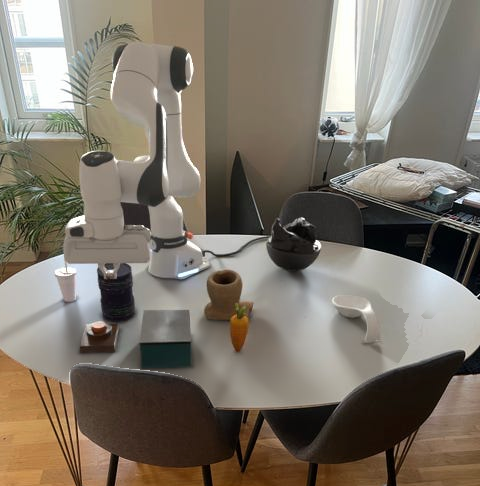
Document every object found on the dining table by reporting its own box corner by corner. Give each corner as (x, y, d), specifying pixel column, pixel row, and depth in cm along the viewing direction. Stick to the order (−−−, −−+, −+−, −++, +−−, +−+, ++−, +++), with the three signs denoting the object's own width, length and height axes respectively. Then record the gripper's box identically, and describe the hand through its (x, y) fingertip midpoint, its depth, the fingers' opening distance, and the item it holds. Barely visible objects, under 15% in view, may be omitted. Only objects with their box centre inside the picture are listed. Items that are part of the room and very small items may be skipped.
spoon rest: (325, 304, 153) (328, 285, 150) (358, 302, 156) (362, 283, 152) (354, 345, 134) (359, 324, 130) (392, 342, 136) (397, 321, 132)
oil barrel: (141, 309, 145) (138, 265, 137) (124, 325, 137) (120, 279, 129) (113, 303, 147) (108, 259, 139) (95, 318, 139) (89, 272, 131)
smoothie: (74, 305, 145) (67, 264, 138) (55, 302, 146) (47, 261, 139) (84, 295, 150) (78, 255, 143) (65, 292, 151) (59, 253, 144)
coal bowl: (326, 266, 178) (333, 219, 169) (303, 285, 164) (309, 235, 154) (280, 253, 187) (284, 207, 177) (254, 270, 172) (257, 221, 163)
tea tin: (191, 366, 122) (190, 342, 117) (141, 368, 120) (139, 343, 116) (189, 335, 134) (189, 312, 130) (145, 336, 132) (143, 313, 128)
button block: (115, 352, 125) (113, 339, 123) (80, 353, 124) (78, 340, 122) (119, 329, 135) (118, 317, 133) (86, 330, 134) (85, 318, 131)
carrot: (228, 347, 130) (230, 300, 122) (245, 347, 130) (249, 300, 122) (229, 357, 126) (231, 309, 118) (247, 357, 126) (251, 309, 118)
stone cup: (202, 325, 139) (202, 280, 131) (205, 305, 149) (206, 262, 141) (253, 328, 139) (256, 283, 131) (253, 308, 149) (256, 265, 141)
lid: (191, 343, 117) (191, 341, 116) (139, 345, 115) (139, 342, 115) (189, 312, 130) (189, 309, 129) (143, 312, 128) (143, 310, 128)
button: (105, 333, 126) (104, 328, 125) (91, 333, 126) (90, 328, 125) (106, 326, 129) (106, 320, 128) (93, 326, 129) (92, 321, 128)
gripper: (150, 220, 114) (153, 271, 121) (62, 220, 111) (71, 272, 118) (149, 230, 108) (152, 283, 116) (57, 230, 106) (66, 284, 113)
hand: (110, 278), depth 117 cm, fingers closed
